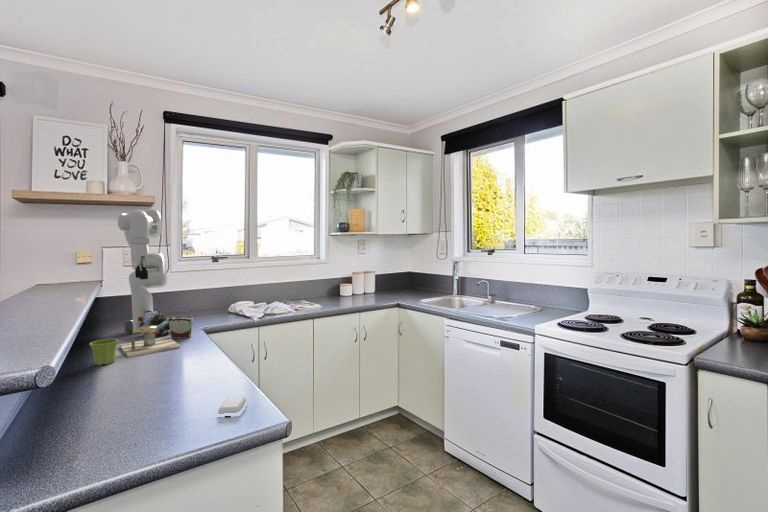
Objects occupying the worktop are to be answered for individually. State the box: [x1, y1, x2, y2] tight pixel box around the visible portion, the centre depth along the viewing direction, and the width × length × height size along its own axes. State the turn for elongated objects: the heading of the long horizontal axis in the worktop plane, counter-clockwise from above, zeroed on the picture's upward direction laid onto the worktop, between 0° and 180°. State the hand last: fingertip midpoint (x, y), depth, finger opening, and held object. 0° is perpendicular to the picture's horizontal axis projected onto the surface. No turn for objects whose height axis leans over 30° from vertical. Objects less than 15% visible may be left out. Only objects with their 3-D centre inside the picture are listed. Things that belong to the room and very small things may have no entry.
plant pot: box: [88, 338, 119, 366], centre depth 159 cm, size 9×9×9 cm
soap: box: [217, 396, 247, 414], centre depth 115 cm, size 9×7×3 cm
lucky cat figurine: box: [138, 310, 170, 338], centre depth 206 cm, size 15×12×14 cm
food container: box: [167, 314, 194, 339], centre depth 200 cm, size 12×6×10 cm, turn 84°
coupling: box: [123, 319, 157, 336], centre depth 179 cm, size 12×9×6 cm
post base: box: [119, 332, 181, 358], centre depth 181 cm, size 20×20×7 cm
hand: (141, 278), depth 188 cm, fingers open, 9 cm apart
